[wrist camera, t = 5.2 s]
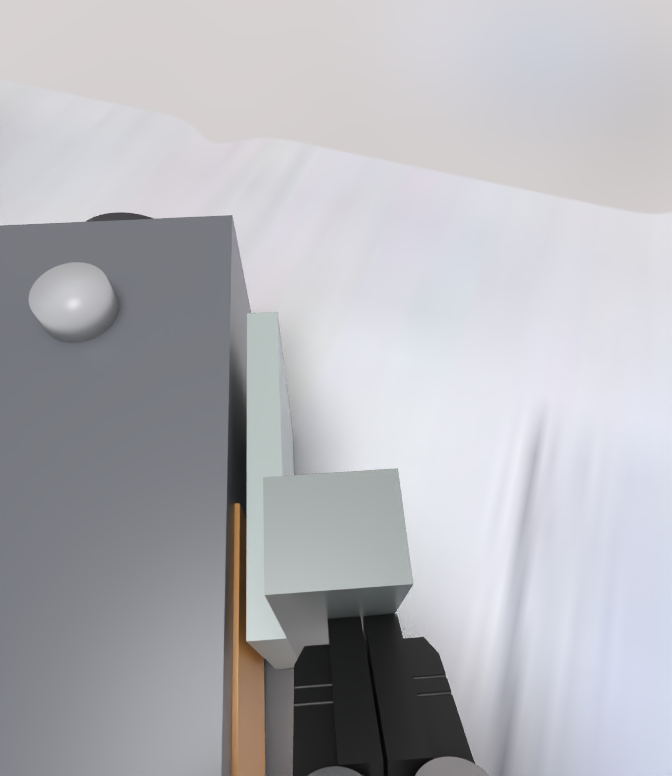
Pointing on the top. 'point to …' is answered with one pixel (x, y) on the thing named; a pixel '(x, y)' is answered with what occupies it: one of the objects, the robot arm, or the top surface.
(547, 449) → the top surface
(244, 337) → the block
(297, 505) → the side door
